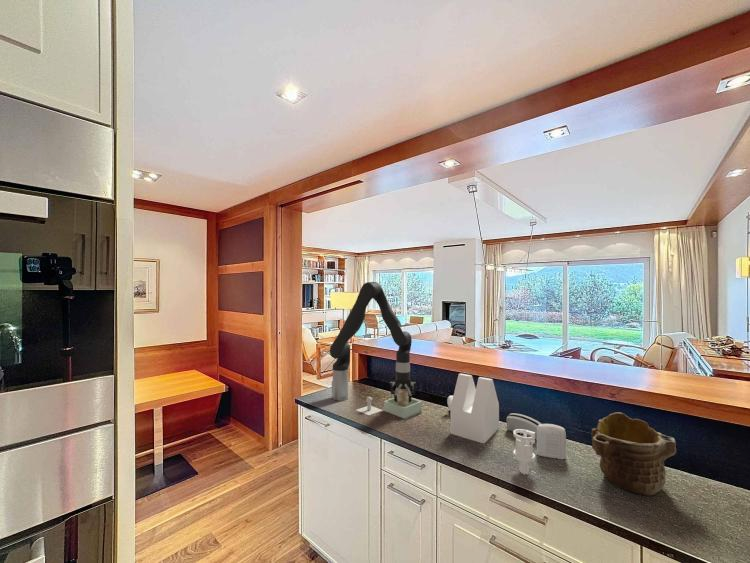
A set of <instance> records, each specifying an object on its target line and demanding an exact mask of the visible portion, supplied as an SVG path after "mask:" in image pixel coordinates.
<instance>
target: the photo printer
mask: <svg viewBox="0 0 750 563" xmlns="http://www.w3.org/2000/svg"><path fill="white" fill-rule="evenodd" d="M566 450H567V434H566V429H565V428H564V427H562V426H561V425H557V424H552V423H541V424H539V425H538V428H537V440H536V455H538V456H540V457H545V458H551V459H556V458H557V459H558V460H563V459H565V460H566V458H567V457H566V456H567V455H566V454H567V452H566Z"/></svg>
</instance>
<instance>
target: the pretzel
mask: <svg viewBox="0 0 750 563" xmlns="http://www.w3.org/2000/svg"><path fill="white" fill-rule="evenodd" d="M453 396H454V394H453V395H449V396H448V397H447V400H446V402H447V407H448V409H449V410H450V412H451V404H452V400H453Z"/></svg>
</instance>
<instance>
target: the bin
mask: <svg viewBox="0 0 750 563" xmlns="http://www.w3.org/2000/svg"><path fill="white" fill-rule="evenodd" d="M422 407H423V402H422V400H419V399H416V398H413V397H411V402H410V403H409V396H408V406H407V407H401V406H398V395H397V403H396V401H394V397H392V398H389V399H386V400H383V411H384V412H386V413H389V414H391V415H394V416H397V417H399V418H401V420H402V421H406V420H409V419H412V418H413V417H416V416H418V415H420V414H422V413H423V411H422V410H423V409H422Z"/></svg>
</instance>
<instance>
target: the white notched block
mask: <svg viewBox="0 0 750 563" xmlns="http://www.w3.org/2000/svg"><path fill="white" fill-rule="evenodd" d="M499 429H500V403H499V400H498V395H497V391H496V387H495V383H494V379H493V378H489V377H482V376H479V377H478V378H477V384H476V385H475V381H474V378H473V375H471V374H466V373H461V372H460V373H458V376H457V379H456V384H455V388H454V392H453V400H452V404H451V411H450V434H451V435H453V436H456V437H457V436H458V437H461V438H464V439H468V440H470V441H474V442H478V443H481V444H485V443H487V441H489V439H490V438H491V437H492V436H493V435H494V434H495V433H496V432H497V431H498V430H499Z"/></svg>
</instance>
